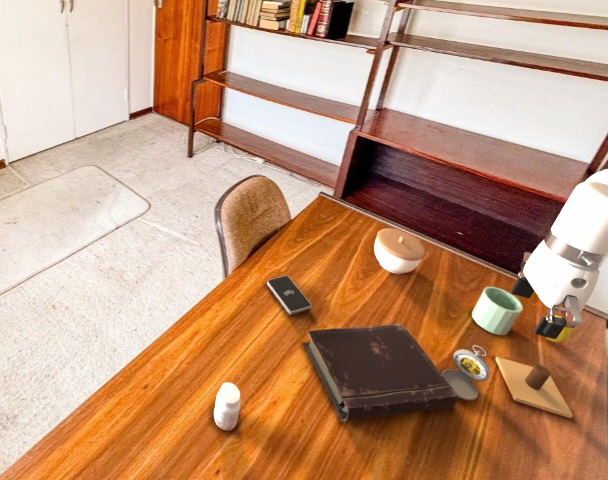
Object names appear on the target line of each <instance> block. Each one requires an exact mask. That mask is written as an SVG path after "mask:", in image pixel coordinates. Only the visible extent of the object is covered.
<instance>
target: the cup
mask: <svg viewBox="0 0 608 480" xmlns="http://www.w3.org/2000/svg"><path fill="white" fill-rule="evenodd" d="M523 310H524V305H523V304H522V302H521V301H520V300H519V298H517V297H516V295H514V294H512V293H511V292H509V291H507V290H505V289H502V288H500V287H497V286H486V287H485V288H484V289H483V290H482V293H481V294H480V295H479V298H478V300H477V301H476V303H475V305H474V306H473V309H472V312H471V317H472V319H473V321H474V322H475V323H476V324H477V325H478V326H480V327H481V328H482V329H483V330H485V331H487V332H489V333H491V334H493V335H497V336H506V335H508V333H509V332H510V331H511V330H512V328H513V326H514V325H515V323H516V321H518V319H519V317H520V315H521V314H522V312H523Z"/></svg>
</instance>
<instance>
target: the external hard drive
mask: <svg viewBox="0 0 608 480" xmlns="http://www.w3.org/2000/svg"><path fill="white" fill-rule="evenodd" d="M266 287H267V288H268V289H269V290H270V292H271V293H272V295H273V296H274V297H275V299H276V300H277V301H278V303H279V304H280V305H281V307H282V308H283V309H284V311H285V312H286V314H287V315H288V316H289V317H291V316H295V315H298V314H301V313H305V312H308V311H310V310H311V308H312V303H311V302H310V301H309V299H307V297H306V296H305V295H304V293H303V292H302V291H301V289H300V288H299V287H298V286H297V285H296V284H295V282H294V281H293V279H292V278H291V277H289V275H282V276H278V277H275V278H270V279H268V280H267V282H266Z"/></svg>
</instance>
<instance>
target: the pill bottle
mask: <svg viewBox="0 0 608 480" xmlns="http://www.w3.org/2000/svg"><path fill="white" fill-rule="evenodd" d="M241 403H242V401H241V391H240V389H239V388H238V386H236V385H235V383H232V382H224V383H222V384H221V386H220V388H219V390H218V392H217V395H216V398H215V405H214V410H213V419H214V423H215V424H216V426H218V427H219V428H220V429H221V430H224V431H232V430H233V429H234V428H235V427H236V426H237V423H238V420H239V415H240V411H241V405H242V404H241Z"/></svg>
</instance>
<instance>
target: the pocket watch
mask: <svg viewBox="0 0 608 480" xmlns="http://www.w3.org/2000/svg"><path fill="white" fill-rule="evenodd" d="M475 347H477V348H480V349H481V350H482V351H483V352H484V354H482V353H481V350H476V349H475ZM472 350H473V351H474V352H473V351H471V350H468V349H458V350H456V351H455V352H454V353H453V354H452V362H453V364H454V366H455V367H456V368H457V370H456V369H453V368H445V369H444V370H442V372H441V374H442V375H443V377H444V378H445V379H446V380H447V382H448V383H449V385H450V386H451V387H452V388H453V389H454V391H455V392H456V393H457V394H458V399H462V400H465V401H474V400H476V399H477V398H478V396H479V391H478V388H477V386H476V384H475V382H481V383H482V382H486V381H487V380H489V378H490V375H491V372H490V371H491V370H490V367H489V365H488V363H487V362H486V361H485V360H484V359H483V358H482V357H486V356H488V353H487V351H486V350H485V349H484V348H483V347H481V345H480V346H479V345H477V344H473V345H472ZM481 356H482V357H481ZM472 380H473V381H472ZM474 381H475V382H474Z"/></svg>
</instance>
